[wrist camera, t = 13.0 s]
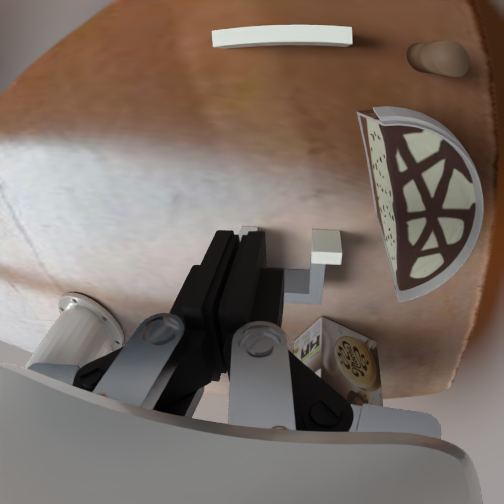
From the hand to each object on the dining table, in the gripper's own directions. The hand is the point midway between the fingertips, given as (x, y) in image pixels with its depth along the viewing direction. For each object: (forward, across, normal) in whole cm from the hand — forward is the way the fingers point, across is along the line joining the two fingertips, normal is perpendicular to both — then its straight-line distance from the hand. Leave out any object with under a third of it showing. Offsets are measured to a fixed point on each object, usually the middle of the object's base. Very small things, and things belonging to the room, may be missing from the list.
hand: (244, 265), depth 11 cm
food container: (+15, -10, 0) cm, 19 cm away
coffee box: (+16, -7, +23) cm, 29 cm away
